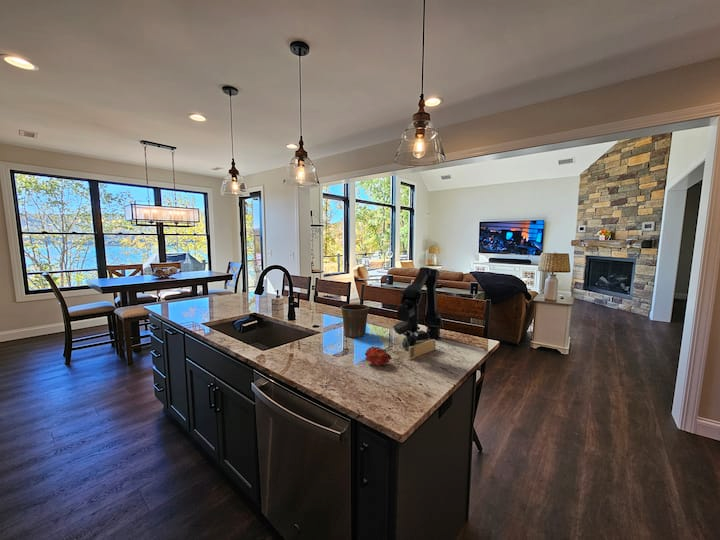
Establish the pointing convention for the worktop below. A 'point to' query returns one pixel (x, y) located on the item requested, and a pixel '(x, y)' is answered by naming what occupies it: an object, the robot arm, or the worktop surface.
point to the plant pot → (354, 319)
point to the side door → (421, 348)
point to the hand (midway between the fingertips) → (410, 348)
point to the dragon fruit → (377, 356)
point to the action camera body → (406, 346)
